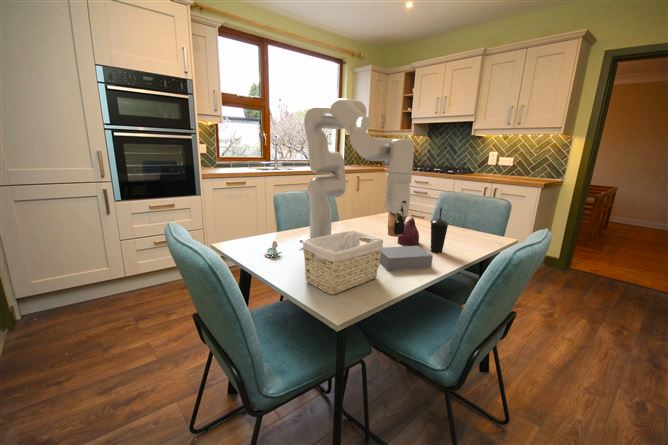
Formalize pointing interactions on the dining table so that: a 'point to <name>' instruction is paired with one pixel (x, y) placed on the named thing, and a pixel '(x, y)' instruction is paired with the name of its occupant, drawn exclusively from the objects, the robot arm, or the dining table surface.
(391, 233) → the cylinder
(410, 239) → the vegetable
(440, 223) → the drinking cup
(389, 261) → the stand
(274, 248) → the pacifier
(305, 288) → the dining table surface
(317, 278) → the storage basket
